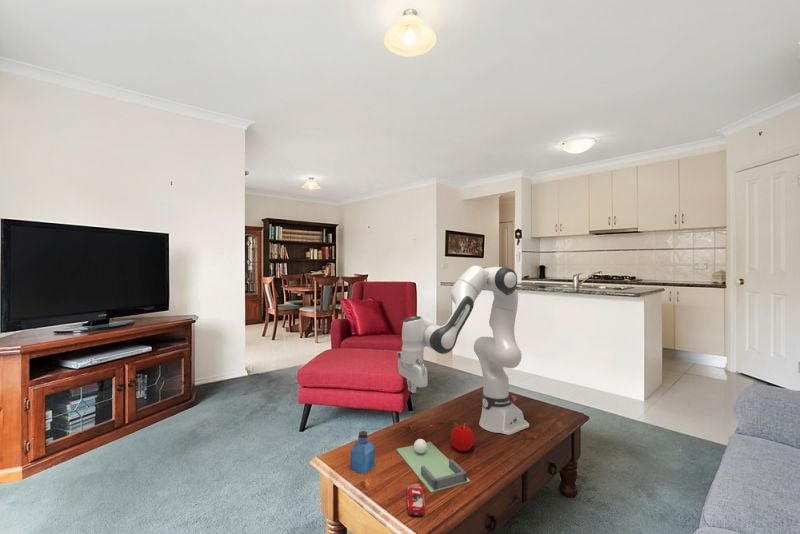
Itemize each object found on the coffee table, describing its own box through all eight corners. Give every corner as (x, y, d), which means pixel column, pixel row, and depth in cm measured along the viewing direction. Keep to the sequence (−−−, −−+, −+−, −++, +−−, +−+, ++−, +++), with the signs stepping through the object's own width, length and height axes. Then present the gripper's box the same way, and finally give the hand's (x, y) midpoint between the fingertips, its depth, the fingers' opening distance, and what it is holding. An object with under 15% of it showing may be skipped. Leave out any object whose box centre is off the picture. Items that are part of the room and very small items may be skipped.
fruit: (472, 456, 132) (473, 430, 132) (449, 452, 135) (449, 426, 135) (475, 444, 141) (475, 419, 141) (452, 441, 143) (452, 416, 143)
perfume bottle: (364, 473, 120) (364, 438, 120) (350, 468, 123) (350, 434, 123) (374, 465, 125) (375, 431, 125) (361, 460, 129) (361, 427, 129)
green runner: (430, 442, 142) (430, 441, 142) (470, 481, 116) (470, 480, 116) (396, 449, 136) (396, 448, 136) (430, 492, 110) (430, 491, 110)
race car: (406, 489, 113) (406, 476, 113) (423, 489, 113) (423, 477, 113) (406, 518, 100) (406, 504, 100) (425, 518, 99) (425, 504, 99)
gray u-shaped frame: (451, 467, 125) (451, 458, 125) (466, 481, 116) (466, 472, 116) (420, 475, 120) (420, 466, 120) (434, 491, 111) (434, 481, 111)
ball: (423, 448, 137) (423, 435, 137) (429, 454, 132) (429, 441, 132) (411, 450, 135) (411, 437, 135) (417, 457, 130) (417, 443, 130)
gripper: (431, 362, 133) (431, 399, 133) (408, 350, 151) (408, 382, 151) (417, 364, 130) (416, 401, 130) (395, 351, 149) (395, 384, 149)
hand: (412, 391), depth 141 cm, fingers closed
